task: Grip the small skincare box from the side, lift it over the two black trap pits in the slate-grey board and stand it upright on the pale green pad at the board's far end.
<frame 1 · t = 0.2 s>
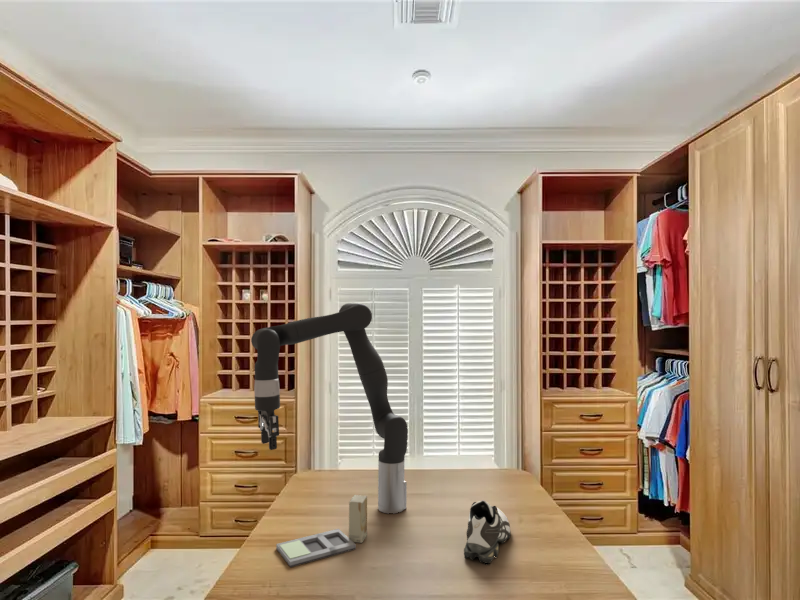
hand: (268, 446, 155), 28 cm above the table, tool pointing down, fingers open, 8 cm apart
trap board: (316, 549, 148), on the table
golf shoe: (489, 543, 153), on the table
skincare box: (358, 538, 155), on the table
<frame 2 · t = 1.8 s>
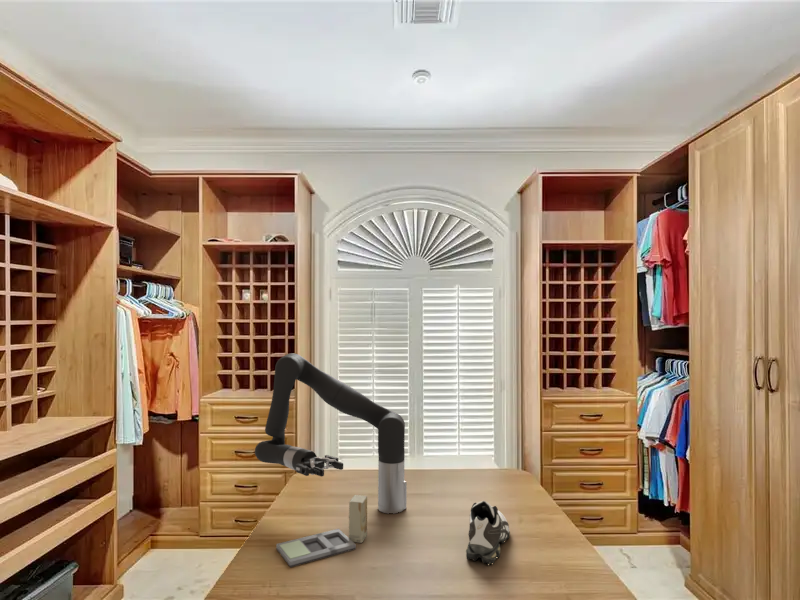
hand: (333, 469, 162), 19 cm above the table, tool horizontal, fingers open, 8 cm apart
nothing on the table moved.
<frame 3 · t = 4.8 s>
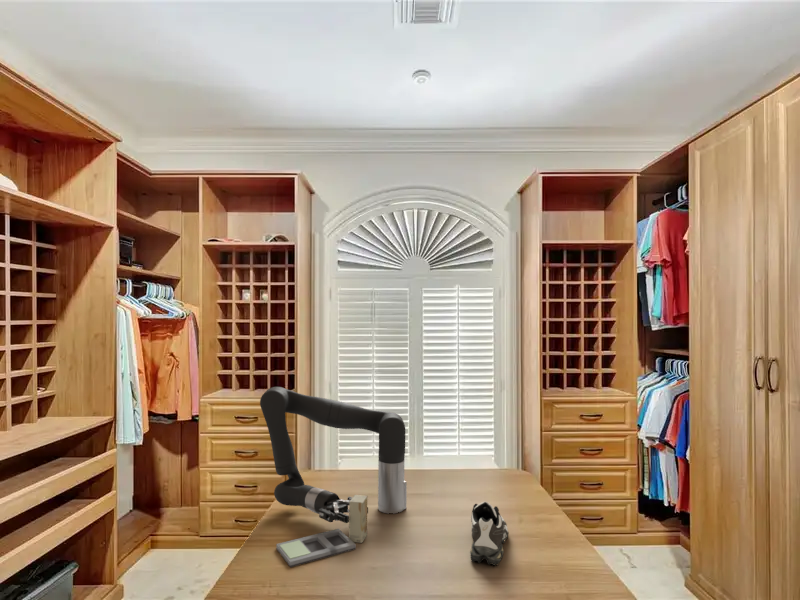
hand: (358, 515, 155), 7 cm above the table, tool horizontal, fingers open, 8 cm apart
skincare box: (358, 538, 155), on the table, touching gripper
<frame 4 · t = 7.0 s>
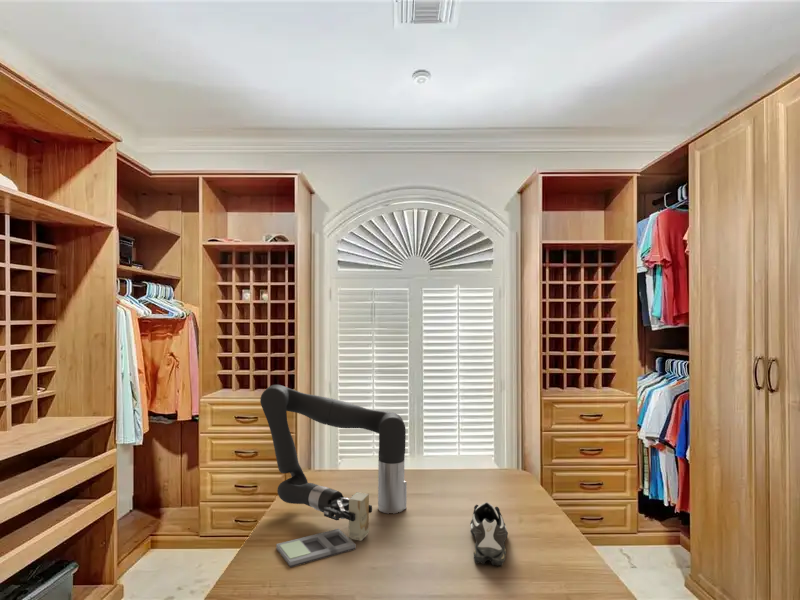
hand: (363, 513, 154), 8 cm above the table, tool horizontal, fingers closed on skincare box, 7 cm apart
skincare box: (359, 536, 155), point 1 cm above the table, touching gripper
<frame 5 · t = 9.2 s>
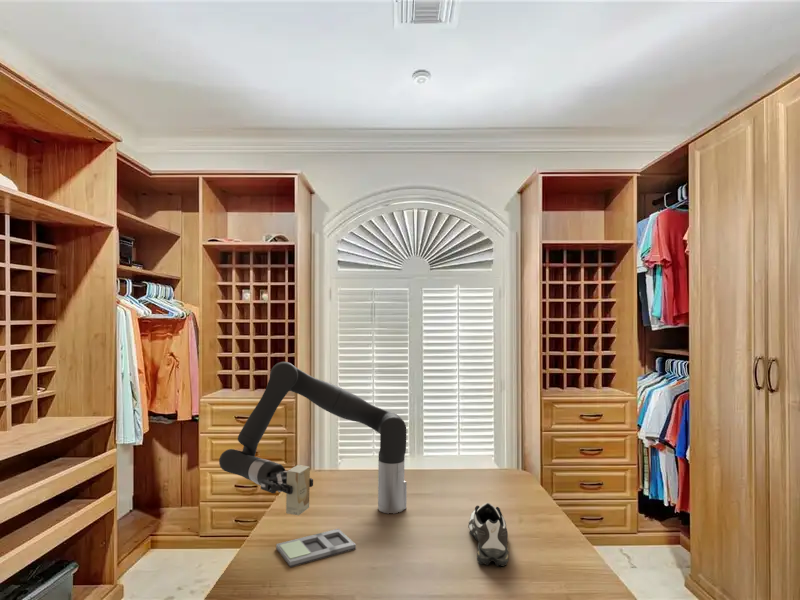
hand: (302, 486, 144), 20 cm above the table, tool horizontal, fingers closed on skincare box, 7 cm apart
skincare box: (298, 511, 145), point 12 cm above the table, touching gripper
when the fingers open (10 cm above the table, at t = 12.2 s): skincare box moves 1 cm, resting on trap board.
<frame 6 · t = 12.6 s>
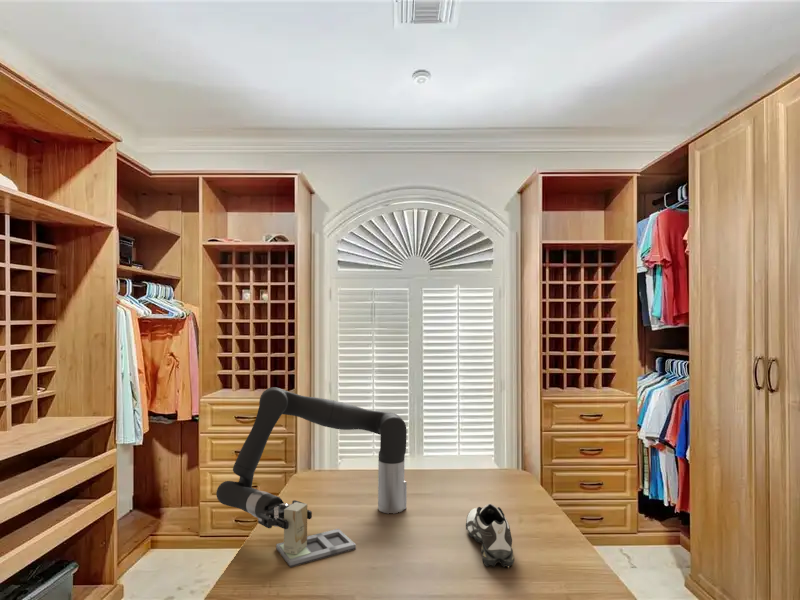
hand: (299, 520, 143), 10 cm above the table, tool horizontal, fingers open, 8 cm apart
skincare box: (295, 549, 144), point 2 cm above the table, touching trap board
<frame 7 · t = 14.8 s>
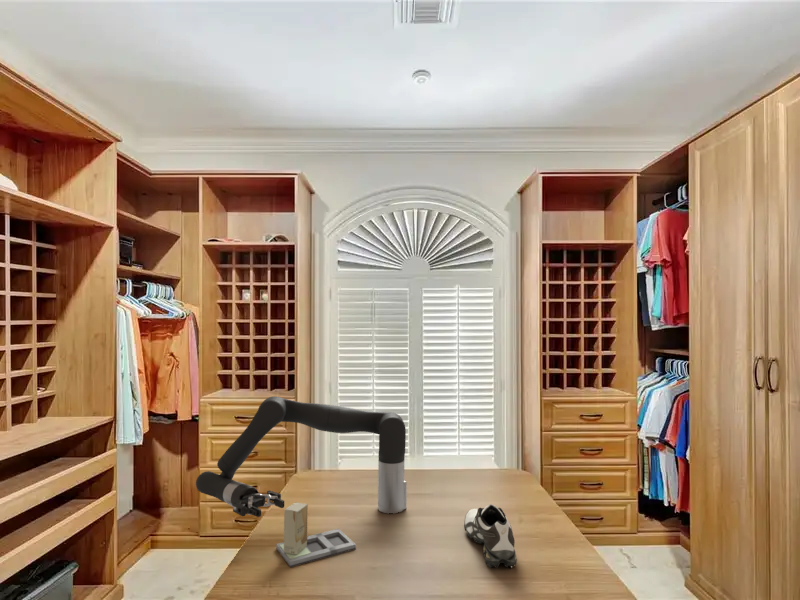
hand: (272, 508, 151), 10 cm above the table, tool horizontal, fingers open, 8 cm apart
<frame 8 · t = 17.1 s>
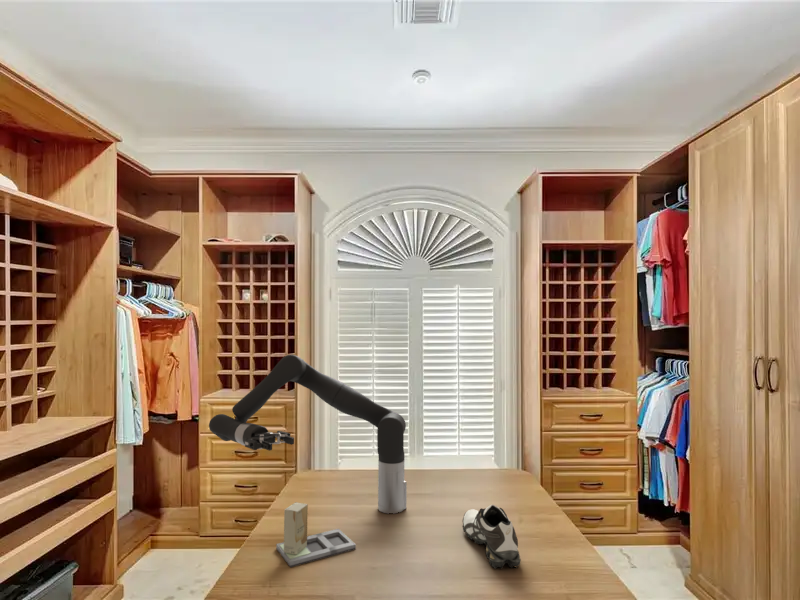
hand: (282, 444, 158), 28 cm above the table, tool horizontal, fingers open, 8 cm apart
at the end: skincare box inside the target area (0.3 cm from its centre), point 1.5 cm above the table; skincare box tilted 0°; the gripper is holding nothing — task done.
